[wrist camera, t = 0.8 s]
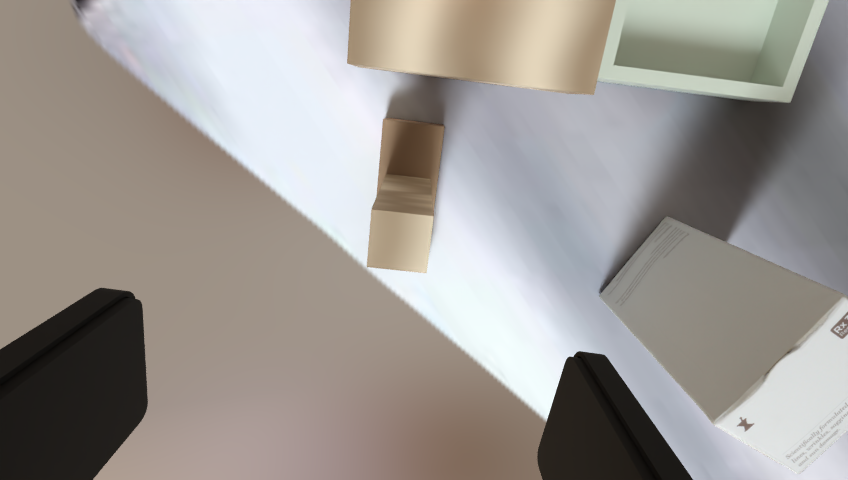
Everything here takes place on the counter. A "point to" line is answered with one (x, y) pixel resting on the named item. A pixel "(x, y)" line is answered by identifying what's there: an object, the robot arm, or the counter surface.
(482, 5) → the birch block
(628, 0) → the box
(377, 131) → the counter surface
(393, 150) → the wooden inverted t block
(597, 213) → the counter surface
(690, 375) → the skincare box
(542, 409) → the counter surface
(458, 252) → the counter surface
